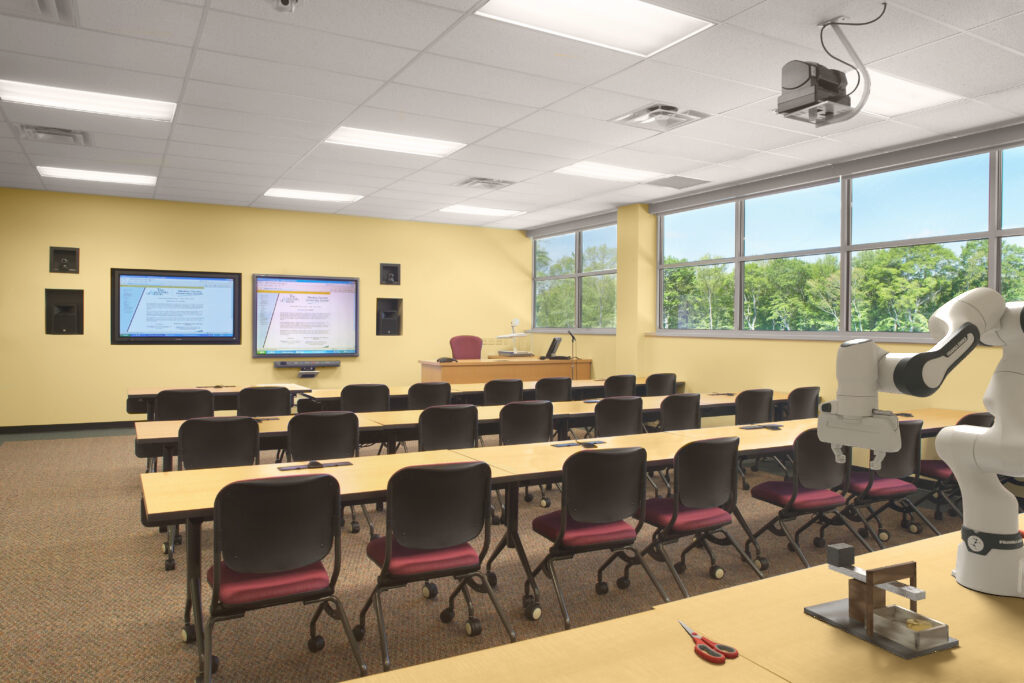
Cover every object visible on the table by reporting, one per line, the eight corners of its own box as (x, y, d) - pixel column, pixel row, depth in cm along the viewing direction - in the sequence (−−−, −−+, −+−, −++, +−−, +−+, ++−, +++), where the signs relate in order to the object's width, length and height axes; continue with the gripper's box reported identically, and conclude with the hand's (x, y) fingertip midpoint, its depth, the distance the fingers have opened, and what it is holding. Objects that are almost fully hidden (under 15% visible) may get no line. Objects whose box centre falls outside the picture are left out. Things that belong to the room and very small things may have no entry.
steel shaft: (825, 569, 148) (825, 544, 148) (841, 566, 150) (841, 542, 150) (911, 601, 129) (911, 573, 129) (929, 597, 131) (928, 570, 131)
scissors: (678, 618, 145) (678, 611, 145) (746, 660, 126) (745, 652, 126) (648, 624, 142) (648, 617, 142) (713, 668, 123) (713, 660, 123)
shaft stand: (803, 612, 147) (803, 549, 147) (851, 601, 153) (851, 540, 153) (907, 660, 125) (906, 585, 125) (958, 645, 131) (958, 574, 131)
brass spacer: (938, 626, 129) (938, 642, 129) (918, 617, 133) (918, 632, 133) (920, 629, 128) (920, 645, 128) (901, 620, 132) (901, 635, 132)
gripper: (907, 410, 147) (908, 472, 147) (831, 403, 166) (831, 458, 166) (888, 412, 145) (888, 474, 145) (812, 404, 164) (813, 460, 164)
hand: (857, 465), depth 156 cm, fingers open, 8 cm apart
